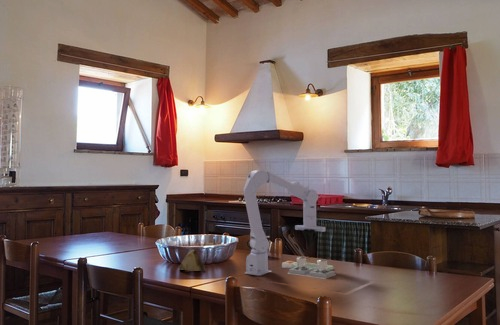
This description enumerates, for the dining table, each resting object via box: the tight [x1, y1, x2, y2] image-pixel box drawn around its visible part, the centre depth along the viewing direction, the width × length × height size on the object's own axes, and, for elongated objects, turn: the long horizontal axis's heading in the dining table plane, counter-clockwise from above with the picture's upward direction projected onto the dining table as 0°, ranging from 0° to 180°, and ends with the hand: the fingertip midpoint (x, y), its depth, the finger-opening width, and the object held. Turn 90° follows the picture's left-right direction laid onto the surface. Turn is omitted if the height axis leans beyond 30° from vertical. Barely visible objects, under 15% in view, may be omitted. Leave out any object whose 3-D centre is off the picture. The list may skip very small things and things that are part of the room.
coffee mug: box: [246, 235, 271, 252], centre depth 241 cm, size 12×9×10 cm
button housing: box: [281, 261, 297, 269], centre depth 207 cm, size 5×5×2 cm
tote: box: [293, 262, 334, 271], centre depth 202 cm, size 8×15×2 cm, turn 52°
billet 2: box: [316, 259, 328, 274], centre depth 188 cm, size 4×4×6 cm
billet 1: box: [296, 256, 307, 271], centre depth 195 cm, size 4×4×6 cm
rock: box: [178, 248, 206, 272], centre depth 204 cm, size 11×9×10 cm
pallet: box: [287, 267, 337, 280], centre depth 191 cm, size 10×18×2 cm, turn 52°
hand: (310, 247), depth 204 cm, fingers closed
